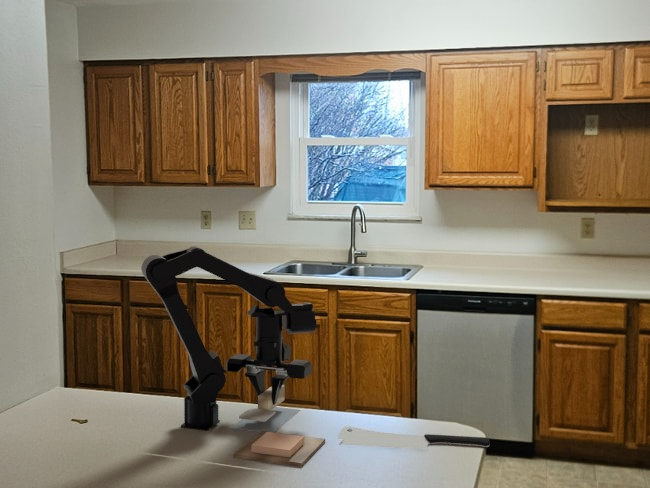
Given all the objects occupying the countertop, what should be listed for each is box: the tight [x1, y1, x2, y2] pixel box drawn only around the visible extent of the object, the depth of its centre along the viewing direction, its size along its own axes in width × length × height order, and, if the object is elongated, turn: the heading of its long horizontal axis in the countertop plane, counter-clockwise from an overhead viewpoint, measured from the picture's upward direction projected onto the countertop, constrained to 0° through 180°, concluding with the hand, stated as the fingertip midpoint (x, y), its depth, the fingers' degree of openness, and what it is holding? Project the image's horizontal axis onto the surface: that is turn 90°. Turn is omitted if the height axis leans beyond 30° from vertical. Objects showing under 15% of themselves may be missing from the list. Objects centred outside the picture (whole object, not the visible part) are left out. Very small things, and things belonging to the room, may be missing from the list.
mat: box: [229, 406, 301, 433], centre depth 175 cm, size 10×17×1 cm, turn 162°
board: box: [233, 431, 326, 468], centre depth 156 cm, size 14×14×1 cm
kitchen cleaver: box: [337, 425, 491, 451], centre depth 161 cm, size 31×2×10 cm
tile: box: [251, 432, 305, 458], centre depth 154 cm, size 8×2×8 cm
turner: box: [238, 384, 286, 422], centre depth 174 cm, size 6×16×4 cm, turn 162°
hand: (268, 403), depth 176 cm, fingers closed on turner, 2 cm apart
